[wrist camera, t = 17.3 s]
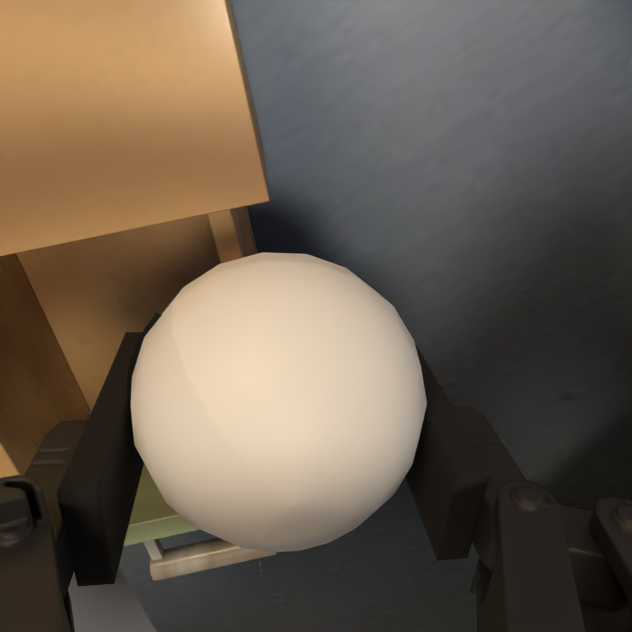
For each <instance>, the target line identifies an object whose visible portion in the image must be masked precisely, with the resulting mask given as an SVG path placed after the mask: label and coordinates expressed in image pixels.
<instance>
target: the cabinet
mask: <svg viewBox="0 0 632 632" xmlns="http://www.w3.org/2000/svg"><path fill="white" fill-rule="evenodd" d="M269 201H270V198H269V191H268V183H267V176H266V168H265V160H264V153H263V146H262V141H261V137H260V132H259V127H258V123H257V118H256V114H255V109H254V104H253V100H252V95H251V90H250V86H249V81H248V76H247V72H246V67H245V63H244V58H243V53H242V49H241V44H240V39H239V35H238V30H237V25H236V21H235V16H234V12H233V7H232V2H231V0H0V256H5V255H10V254H15V253H20V252H25V251H30V250H35V249H40V248H44V247H49V246H54V245H59V244H64V243H69V242H74V241H79V240H84V239H88V238H93V237H98V236H103V235H108V234H113V233H118V232H123V231H128V230H132V229H137V228H142V227H147V226H152V225H157V224H162V223H167V222H172V221H176V220H181V219H186V218H191V217H196V216H201V215H206V214H211V213H216V212H220V211H225V210H230V209H235V208H240V207H245V206H250V205H255V204H260V203H264V202H269Z"/></svg>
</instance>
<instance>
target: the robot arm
mask: <svg viewBox="0 0 632 632" xmlns="http://www.w3.org/2000/svg"><path fill="white" fill-rule="evenodd" d="M142 333H143V332H126V333H125V335H124V337H123V340H122V342H121V344H120V347H119V349H118V351H117V354H116V356H115V358H114V361H113V363H112V365H111V368H110V370H109V372H108V375H107V377H106V379H105V382H104V384H103V386H102V389H101V391H100V393H99V396H98V398H97V400H96V403H95V405H94V407H93V410H92V412H91V414H90V417H89V419H88V420H79V421H61V422H59V423H58V424H57V425H56V426H55V427H54V428H53V429H51V430H50V431H49V432H48V433H47V434H46V435H45V437H44V439H43V441H42V442H41V444H40V446H39V448H38V452H37V453H36V454H35V456H34V458H33V460H32V462H31V465H29V467H28V469H27V471H26V473H25V475H14V476H8V477H3V478H0V632H75V630H74V622H73V614H72V607H71V600H70V596H69V592H68V587H69V584H70V581H71V578H72V575H73V572H75V576H76V580H77V584H78V586H88V585H102V584H114V582H115V578H116V574H117V570H118V566H119V562H120V558H121V554H122V550H123V546H124V542H125V538H126V534H127V530H128V526H129V522H130V518H131V514H132V509H133V505H134V501H135V497H136V493H137V489H138V485H139V481H140V477H141V473H142V469H143V465H144V462H143V460H142V458H141V456H140V454H139V452H138V451H137V449H136V447H135V445H134V436H133V426H132V419H131V413H130V406H129V399H127V376H128V371H129V365H130V360H131V357H132V355H133V352H134V349H135V346H136V344H137V342H138V340H139V338H140V336H141V334H142ZM414 343H415V342H414ZM415 346H416V350H417V354H418V358H419V361H420V365H421V370H422V376H423V382H424V388H425V395H426V401H427V405H426V410H425V415H424V419H423V424H422V429H421V433H420V438H419V442H418V445H417V449H416V453H415V456H414V460H413V464H412V466H411V468H410V470H409V471H408V473H407V474H406V479H407V482H408V484H409V487H410V490H411V492H412V495H413V497H414V500H415V503H416V505H417V508H418V511H419V513H420V516H421V519H422V521H423V524H424V527H425V529H426V532H427V535H428V537H429V540H430V543H431V545H432V548H433V551H434V553H435V556H436V559H437V560H447V559H461V558H468V554H469V550H470V546H471V543H472V542H473V544H474V546H475V548H476V551H477V553H478V555H479V561H478V564H477V568H476V571H475V575H474V578H473V582H472V585H471V590H470V592H472V593H475V591H476V594H477V632H632V501H629V500H627V499H623V498H618V497H607V498H603V499H601V500H600V501H598V502H597V504H596V507H595V509H594V511H592V510H587V509H582V508H577V507H572V506H567V505H563V504H560V503H557V501H556V499H555V497H554V496H553V495H552V494H551V493H550V492H549V491H548V490H547V489H545V488H543V487H542V486H540V485H539V484H537V483H534V482H531V481H528V480H526V479H525V477H524V476H523V474H522V473H521V471H520V469H519V468H518V466H517V465H516V463H515V462H514V460H513V459H512V457H511V456H510V454H509V453H508V451H507V450H506V448H505V447H504V445H503V444H501V441H500V439H499V438H498V436H497V434H496V433H494V430H493V428H492V427H491V425H490V424H489V422H488V421H487V419H486V418H485V417H484V416H483V415H481V414H480V413H479V412H477V411H476V410H475V409H474V408H472V407H452V405H451V404H450V402H449V400H448V399H447V397H446V395H445V393H444V392H443V390H442V388H441V387H440V385H439V383H438V381H437V380H436V378H435V376H434V375H433V373H432V371H431V369H430V368H429V366H428V364H427V363H426V361H425V359H424V357H423V356H422V354H421V352H420V351H419V349H418V347H417V345H416V344H415Z"/></svg>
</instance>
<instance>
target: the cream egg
mask: <svg viewBox="0 0 632 632" xmlns="http://www.w3.org/2000/svg"><path fill="white" fill-rule="evenodd" d="M127 399H129V406H130V413H131V419H132V426H133V436H134V445H135V447H136V449H137V451H138V452H139V454H140V456H141V458H142V460H143V462H144V464H145V466H146V467H147V469H148V471H149V473H150V475H151V477H152V479H153V480H154V482H155V484H156V486H157V488H158V489H159V491H160V493H161V495H162V497H163V498H164V500H165V502H166V503H167V504H168V505H169V506H170V507H171V508H173V509H174V510H175V511H176V512H177V513H178V514H179V515H181V516H182V517H183V518H184V519H185V520H186V521H187V522H188V523H190V524H191V525H192V526H194V527H196V528H199V529H201V530H203V531H205V532H207V533H210V534H212V535H214V536H216V537H218V538H221V539H223V540H225V541H227V542H230V543H232V544H234V545H236V546H239V547H242V548H247V549H253V550H259V551H265V552H285V551H300V550H304V549H308V548H311V547H315V546H319V545H323V544H326V543H329V542H331V541H333V540H335V539H337V538H339V537H341V536H342V535H344V534H346V533H348V532H350V531H352V530H354V529H355V528H356V527H358V526H359V525H360V524H361V523H362V522H364V521H365V520H366V519H367V518H368V517H370V516H371V515H372V514H373V513H374V512H375V511H376V510H377V509H378V508H380V507H381V506H382V505H383V504H384V503H385V502H386V501H387V500H388V499H390V498H391V497H392V496H393V495H394V494H395V492H396V491H397V489H398V487H399V486H400V484H401V483H402V481H403V479H404V478H405V476H406V474H407V473H408V471H409V470H410V468H411V466H412V464H413V460H414V456H415V453H416V449H417V445H418V442H419V438H420V433H421V429H422V424H423V419H424V415H425V410H426V405H427V401H426V395H425V388H424V382H423V376H422V370H421V365H420V361H419V358H418V354H417V350H416V346H415V343H414V339H413V338H412V336H411V335H410V333H409V331H408V330H407V328H406V326H405V325H404V323H403V321H402V320H401V318H400V316H399V315H398V313H397V311H396V310H395V308H394V306H393V305H391V304H390V303H389V302H388V301H387V300H386V299H384V298H383V297H382V296H381V295H380V294H379V293H378V292H376V291H375V290H374V289H373V288H371V287H370V286H369V285H368V284H366V283H365V282H364V281H362V280H361V279H360V278H359V277H357V276H356V275H355V274H354V273H352V272H351V271H350V270H348V269H347V268H345V267H342V266H340V265H337V264H334V263H331V262H328V261H325V260H323V259H320V258H317V257H314V256H311V255H308V254H294V253H265V252H262V253H259V254H255V255H251V256H247V257H244V258H240V259H236V260H233V261H229V262H225V263H221V264H219V265H217V266H216V267H214V268H213V269H211V270H209V271H208V272H206V273H205V274H203V275H202V276H200V277H198V278H197V279H195V280H194V281H192V282H191V283H189V284H188V285H186V286H184V287H183V288H182V290H181V291H180V292H179V293H178V295H177V296H176V297H175V298H174V300H173V301H172V302H171V303H170V305H169V306H168V307H167V308H166V310H165V311H164V312H163V314H162V315H160V314H159V313H156V314H155V315H154V317H153V318H152V319H151V321H150V322H149V323H148V325H147V326H146V327H145V329H144V331H143V333H142V334H141V336H140V338H139V340H138V342H137V344H136V346H135V349H134V352H133V355H132V357H131V360H130V365H129V371H128V376H127ZM258 559H259V557H258ZM259 564H260V562H259ZM260 568H261V566H260ZM261 572H262V570H261Z"/></svg>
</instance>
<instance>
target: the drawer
mask: <svg viewBox="0 0 632 632" xmlns="http://www.w3.org/2000/svg"><path fill="white" fill-rule="evenodd" d="M255 254H258V252H257V248H256V244H255V240H254V236H253V231H252V227H251V223H250V219H249V215H248V211H247V207H246V206H245V207H240V208H235V209H230V210H225V211H220V212H216V213H211V214H206V215H201V216H196V217H191V218H186V219H181V220H176V221H172V222H167V223H162V224H157V225H152V226H147V227H142V228H137V229H132V230H128V231H123V232H118V233H113V234H108V235H103V236H98V237H93V238H88V239H84V240H79V241H74V242H69V243H64V244H59V245H54V246H49V247H44V248H40V249H35V250H30V251H25V252H20V253H15V254H10V255H5V256H0V478H3V477H8V476H14V475H25V473H26V471H27V469H28V467H29V465H31V462H32V460H33V458H34V456H35V454H36V453H37V452H38V448H39V446H40V444H41V442H42V441H43V439H44V437H45V435H46V434H47V433H48V432H49V431H50V430H51V429H53V428H54V427H55V426H56V425H57V424H58V423H59V422H61V421H79V420H86V419H87V417H88V415H89V413H90V410H93V407H94V405H95V403H96V400H97V398H98V396H99V393H100V391H101V389H102V386H103V384H104V382H105V379H106V377H107V375H108V372H109V370H110V368H111V365H112V363H113V361H114V358H115V356H116V354H117V351H118V349H119V347H120V344H121V342H122V340H123V337H124V335H125V333H126V332H143V331H144V329H145V327H146V326H147V325H148V323H149V322H150V321H151V319H152V318H153V317H154V315H155V314H156V313H159V314H160V315H162V314H163V312H164V311H165V310H166V308H167V307H168V306H169V305H170V303H171V302H172V301H173V300H174V298H175V297H176V296H177V295H178V293H179V292H180V291H181V290H182V288H183V287H184V286H186V285H188V284H189V283H191V282H192V281H194V280H195V279H197V278H198V277H200V276H202V275H203V274H205V273H206V272H208V271H209V270H211V269H213V268H214V267H216V266H217V265H219V264H221V263H225V262H229V261H233V260H236V259H240V258H244V257H247V256H251V255H255ZM196 530H200V529H199V528H196V527H194V526H192V525H191V524H190V523H188V522H187V521H186V520H185V519H184V518H183V517H182V516H181V515H179V514H178V513H177V512H176V511H175V510H174V509H173V508H171V507H170V506H169V505H168V504H167V503H166V502H165V500H164V498H163V497H162V495H161V493H160V491H159V489H158V488H157V486H156V484H155V482H154V480H153V479H152V477H151V475H150V473H149V471H148V469H147V467H146V466H145V464H144V465H143V469H142V473H141V477H140V481H139V485H138V489H137V493H136V497H135V501H134V505H133V509H132V514H131V518H130V522H129V526H128V530H127V534H126V538H125V542H124V546H127V545H131V544H136V543H141V542H144V544H145V547H146V549H147V551H148V553H149V555H150V573H151V576H152V578H153V580H155V581H157V580H162V579H166V578H171V577H175V576H180V575H184V574H189V573H194V572H198V571H203V570H207V569H212V568H216V567H221V566H225V565H230V564H235V563H239V562H244V561H248V560H253V559H257V558H258V557H259V558H262V557H267V556H271V555H276V554H277V553H278V552H265V551H259V550H253V549H247V548H242V547H239V546H236V545H234V544H232V543H230V542H227V541H225V540H223V539H221V538H215V539H210V540H206V541H201V542H197V543H192V544H187V545H183V546H178V547H174V548H169V549H163V547H162V545H161V543H160V541H159V538H164V537H168V536H173V535H177V534H182V533H187V532H191V531H196Z"/></svg>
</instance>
